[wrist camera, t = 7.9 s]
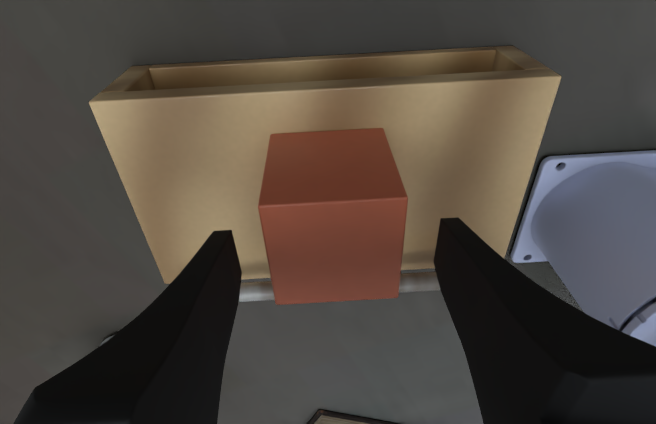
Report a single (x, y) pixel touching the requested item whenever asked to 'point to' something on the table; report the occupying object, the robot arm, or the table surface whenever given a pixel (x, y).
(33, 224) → the table surface
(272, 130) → the wooden storage box
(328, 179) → the block
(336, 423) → the hardcover book
